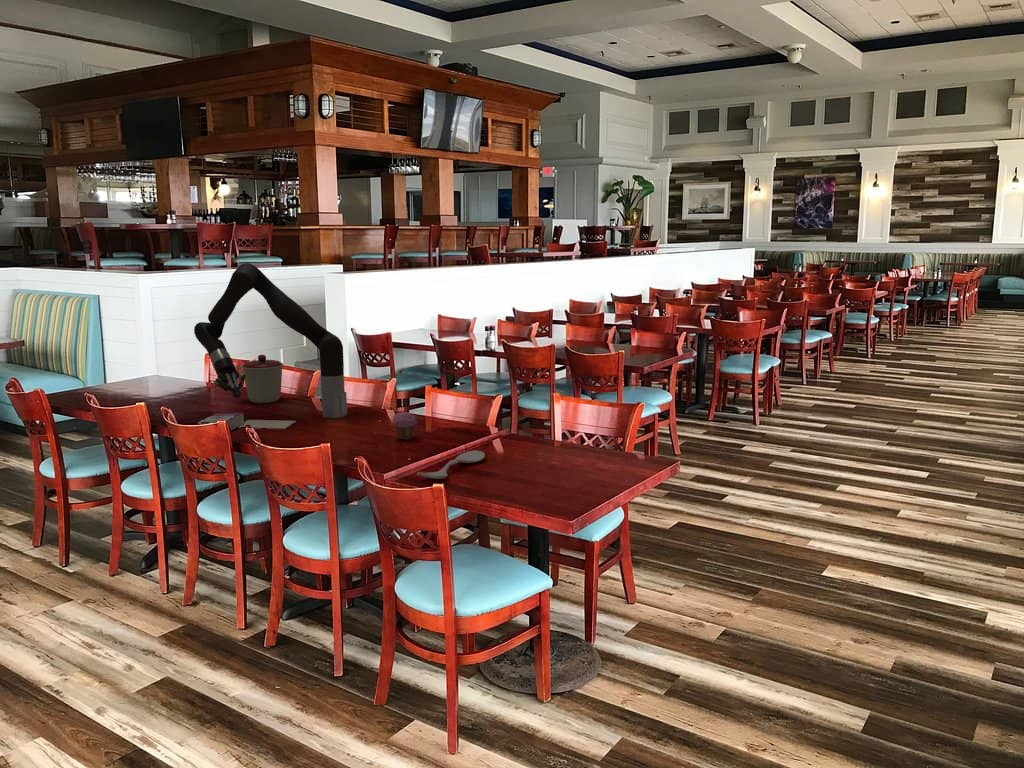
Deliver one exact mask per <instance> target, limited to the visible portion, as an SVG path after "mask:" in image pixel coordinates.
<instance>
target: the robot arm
mask: <svg viewBox="0 0 1024 768" xmlns="http://www.w3.org/2000/svg"><path fill="white" fill-rule="evenodd" d="M252 289H254V290H255V291H256V292H257V293H258V294H260V295H261V297H263V298H264V300H265V301H266V303H267V305H268V307H269V309H270V310H271V312H272V313H273V314H274V316H275V317H277V319H279V320H280V321H281V322H282V323H283V324H285V325H286V326H288V327H289V328H290V329H291V330H293V331H295V332H297V333H299V334H300V335H301V336H304V337H305V338H307V339H308V340H309V341H310V342H311V343H312V344H313V345H315V347H316V349H318V350H319V363H320V365H319V367H320V368H319V369H320V371H319V372H320V386H321V387H320V390H321V391H320V392H321V405H322V406H321V407H322V410H321V411H322V417H323V418H325V419H338V418H340V419H341V418H344V417H346V416H347V415H348V402H347V401H348V400H347V399H348V398H347V396H348V395H347V392H346V391H345V374H344V373H345V370H344V369H345V366H344V365H345V363H344V359H345V358H344V346H343V342H342V341H341V339H340V338H339V336H337V335H336V334H334V333H332V332H330V331H329V330H327V329H326V328H324V327H323V326H322V325H321V324H319V323H318V322H317V321H316V320H315V319H314V318H313V316H311V315H310V314H309V313H308V312H307V311H306V310H305V309H304V307H302V306H301V305H299V303H297V302H296V301H295V300H294V299H292V298H291V297H290V296H289V295H288V294H286V293H285V292H284V291H282V290H281V289H280V288H279V287H278V286H276V284H274V283H273V281H271V280H270V279H269V278H268V277H267V276H266V275H265V274H264V272H262V271H261V270H260V268H258V267H257V266H256V265H254V264H252V263H249V262H244V263H241V264H239V266H238V267H237V268H236V269H235V270H234V271H233V273H232V274H231V277H230V279H229V281H228V284H227V287H226V289H225V291H224V293H223V294H222V296H221V297H220V298H219V299H218V301H216V303H215V305H213V307H212V309H211V310H210V311H209V313H208V316H207V319H208V321H207V322H205V321H201V322H198V323H196V324H195V326H194V329H193V331H194V336H195V338H196V340H197V341H198V342H199V344H200V345H202V347H203V348H204V349H205V350H206V352H207V354H208V356H209V360H210V362H211V365H212V367H213V369H214V372H215V373H216V379H215V380H214V382H213V384H214V385H215V386H217V387H219V388H220V389H222V390H223V391H225V392H228V391H229V392H231V395H232V397H233V398H235V399H236V400H237V399H240V398H241V396H242V392H241V390H240V389H241V388H243V387H242V386H243V384H244V383H245V377H246V375H244V374H243V375H242V374H240V372H239V371H238V370H237V368H236V366H235V363H234V361H233V359H232V357H231V355H230V353H229V352H228V350H227V347H226V346H225V344H224V342H223V340H222V339H220V338H221V337H222V335H223V331H224V327H225V324H226V323H227V321H228V320H229V318H230V317H231V315H232V314H233V312H234V311H235V308H236V306H237V304H238V303H239V301H240V300H242V298H243V297H244V296H246V294H247V293H249V292H250V291H252ZM238 380H239V383H238Z"/></svg>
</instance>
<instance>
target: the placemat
mask: <svg viewBox="0 0 1024 768" xmlns="http://www.w3.org/2000/svg"><path fill="white" fill-rule="evenodd" d="M296 423H297V421H296V420H275V419H274V420H273V419H272V420H271V419H269V420H268V419H267V420H266V419H247V420H244V424H242V425H240V426H239V427H238V428H237V429H242V428H241V427H245V426H246V425H250V426H251V427H253V428H252V429H261V428H267V430H268V429H269V430H270V429H271V430H285V429H287V428H288V427H290V426H292V425H293V424H296ZM261 430H262V429H261Z"/></svg>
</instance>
